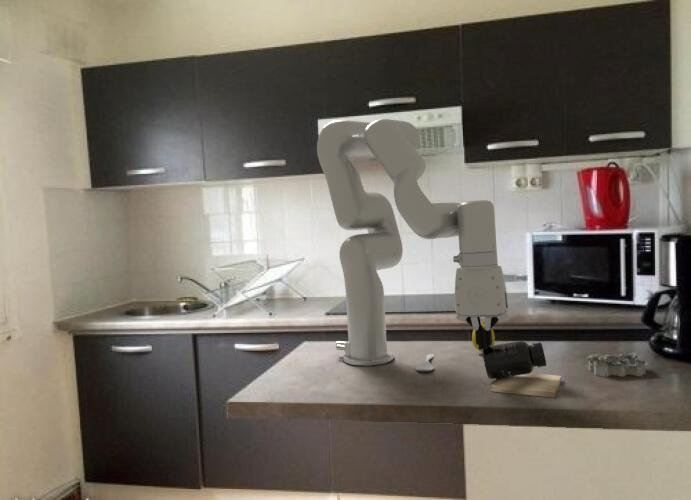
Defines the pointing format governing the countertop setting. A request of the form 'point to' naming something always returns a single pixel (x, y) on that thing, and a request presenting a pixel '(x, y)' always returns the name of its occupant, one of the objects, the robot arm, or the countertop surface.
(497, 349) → the supplement bottle
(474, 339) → the lemon
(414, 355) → the countertop surface
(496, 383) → the cutting board
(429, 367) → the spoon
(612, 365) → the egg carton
